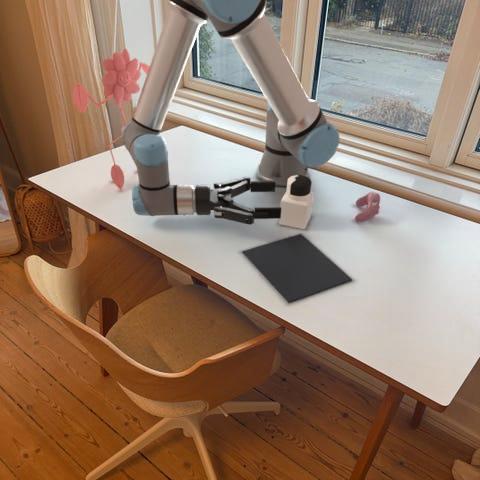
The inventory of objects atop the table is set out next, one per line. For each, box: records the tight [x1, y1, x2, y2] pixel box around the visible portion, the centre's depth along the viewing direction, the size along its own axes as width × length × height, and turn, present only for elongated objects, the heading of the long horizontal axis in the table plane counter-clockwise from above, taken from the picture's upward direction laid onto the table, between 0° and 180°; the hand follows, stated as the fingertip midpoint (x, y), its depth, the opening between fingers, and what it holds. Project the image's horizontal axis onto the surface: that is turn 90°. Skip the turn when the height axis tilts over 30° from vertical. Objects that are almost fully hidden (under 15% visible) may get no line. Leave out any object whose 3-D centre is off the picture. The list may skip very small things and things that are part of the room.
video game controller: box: [354, 191, 381, 223], centre depth 126 cm, size 10×5×7 cm, turn 168°
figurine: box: [71, 48, 150, 191], centre depth 126 cm, size 15×26×35 cm, turn 138°
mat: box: [242, 233, 353, 304], centre depth 110 cm, size 17×21×1 cm
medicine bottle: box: [278, 175, 315, 230], centre depth 120 cm, size 7×7×12 cm
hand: (278, 199), depth 120 cm, fingers open, 13 cm apart
